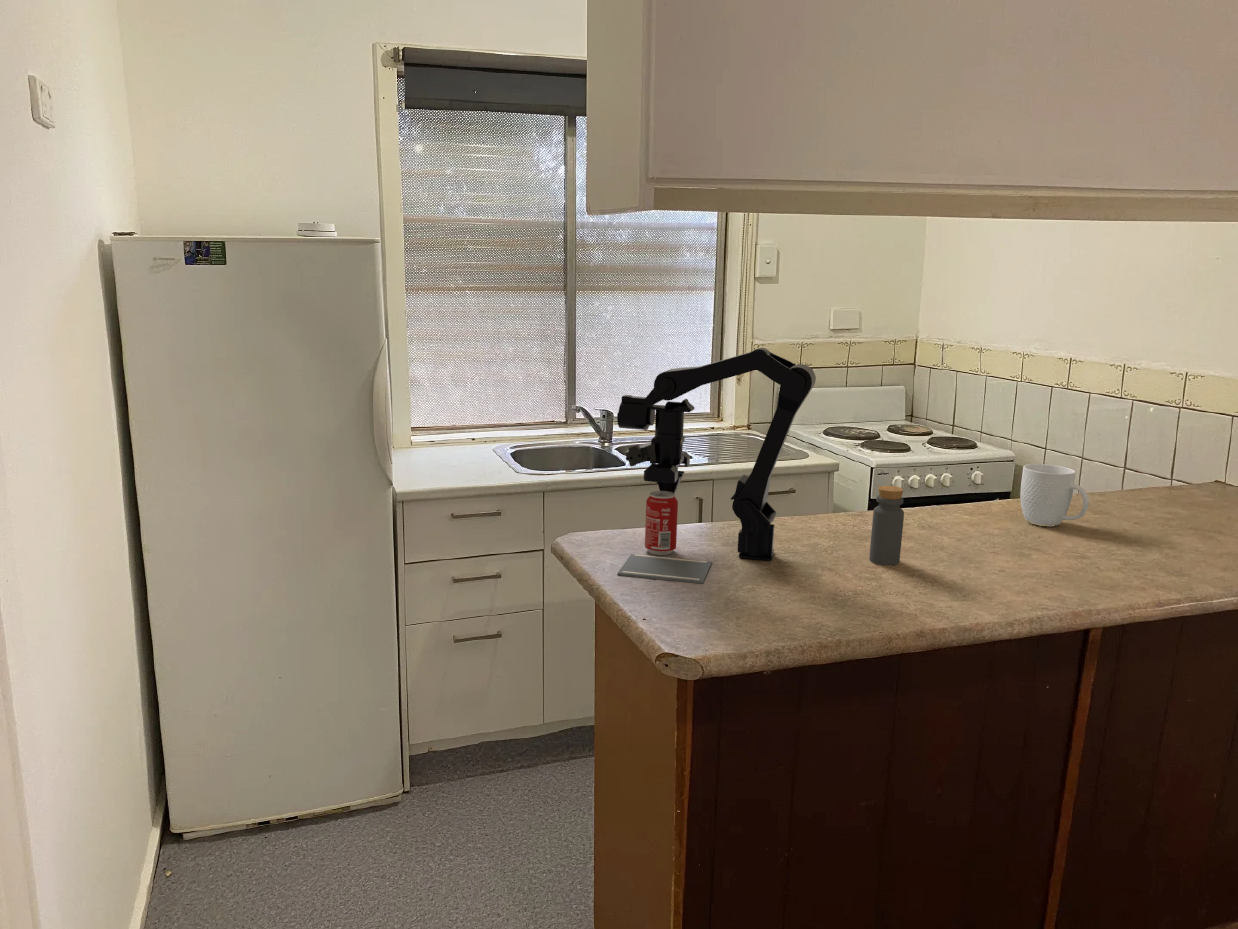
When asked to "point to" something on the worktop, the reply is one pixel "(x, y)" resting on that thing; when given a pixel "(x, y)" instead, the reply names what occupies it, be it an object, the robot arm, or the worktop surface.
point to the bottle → (887, 527)
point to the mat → (665, 568)
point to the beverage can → (661, 522)
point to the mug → (1049, 494)
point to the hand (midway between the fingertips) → (666, 506)
